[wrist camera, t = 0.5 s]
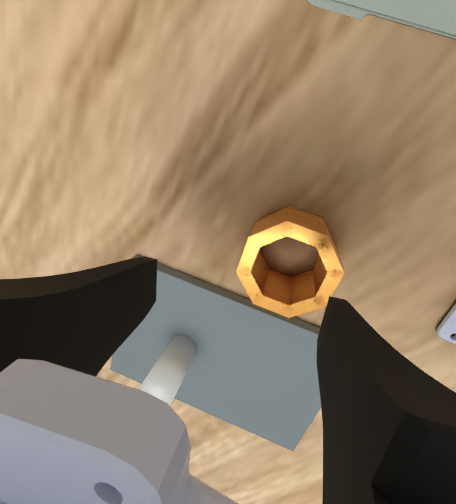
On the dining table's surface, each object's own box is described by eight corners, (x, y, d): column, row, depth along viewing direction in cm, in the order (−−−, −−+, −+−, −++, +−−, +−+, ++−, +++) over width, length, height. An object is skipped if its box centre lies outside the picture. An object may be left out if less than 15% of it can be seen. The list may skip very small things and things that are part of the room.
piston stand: (354, 341, 22) (372, 408, 16) (293, 440, 27) (291, 517, 21) (136, 254, 24) (87, 288, 18) (116, 362, 28) (71, 414, 23)
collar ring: (348, 226, 19) (358, 246, 15) (312, 296, 21) (314, 328, 18) (265, 197, 20) (257, 209, 16) (240, 268, 22) (227, 294, 18)
